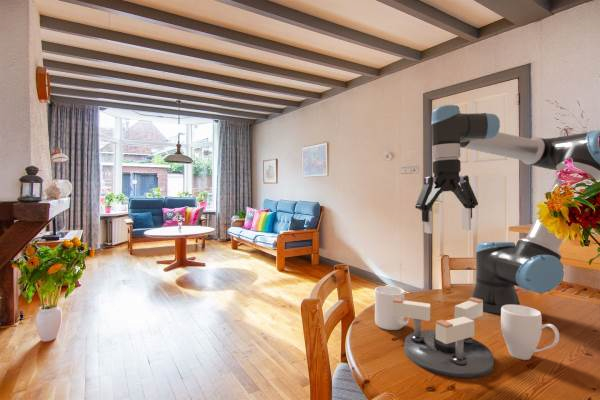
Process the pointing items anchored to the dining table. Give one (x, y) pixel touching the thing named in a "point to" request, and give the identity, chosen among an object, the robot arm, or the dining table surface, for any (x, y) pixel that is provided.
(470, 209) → the robot arm
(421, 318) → the handle
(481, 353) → the base
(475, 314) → the handle
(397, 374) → the dining table surface
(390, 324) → the mug
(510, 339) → the mug
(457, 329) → the knob
